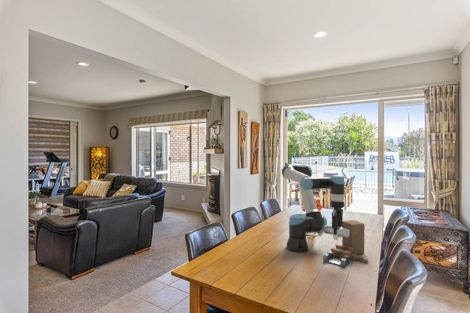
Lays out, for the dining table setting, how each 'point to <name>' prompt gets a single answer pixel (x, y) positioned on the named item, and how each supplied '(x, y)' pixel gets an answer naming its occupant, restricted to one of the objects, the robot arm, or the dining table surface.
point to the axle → (341, 231)
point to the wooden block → (354, 235)
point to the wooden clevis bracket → (347, 253)
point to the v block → (336, 259)
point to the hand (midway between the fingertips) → (337, 238)
